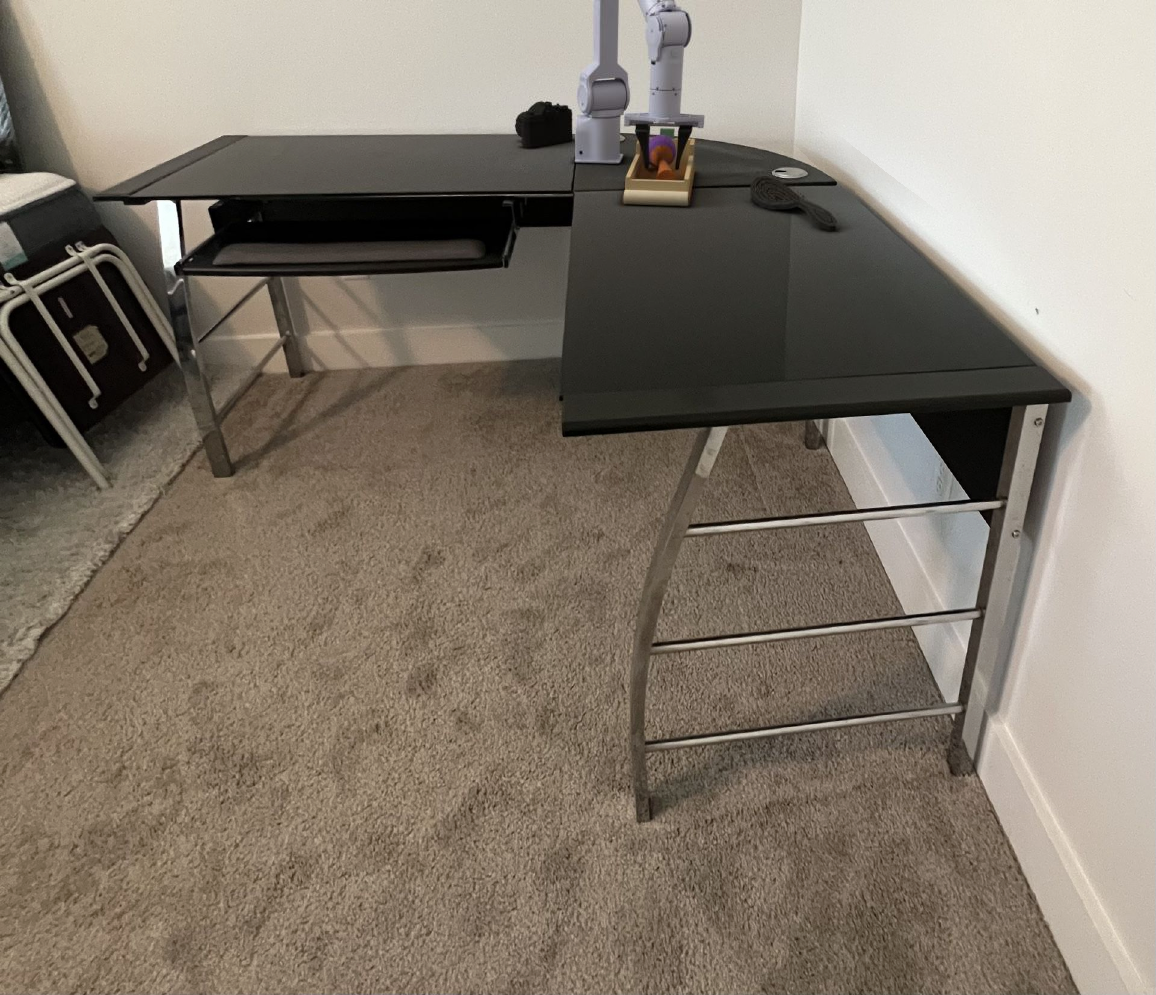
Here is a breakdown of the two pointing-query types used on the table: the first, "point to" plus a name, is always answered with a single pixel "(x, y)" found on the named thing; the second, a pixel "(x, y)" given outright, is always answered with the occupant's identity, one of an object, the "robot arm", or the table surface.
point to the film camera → (544, 125)
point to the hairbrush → (788, 200)
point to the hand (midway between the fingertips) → (661, 168)
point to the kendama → (662, 156)
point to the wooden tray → (661, 192)
